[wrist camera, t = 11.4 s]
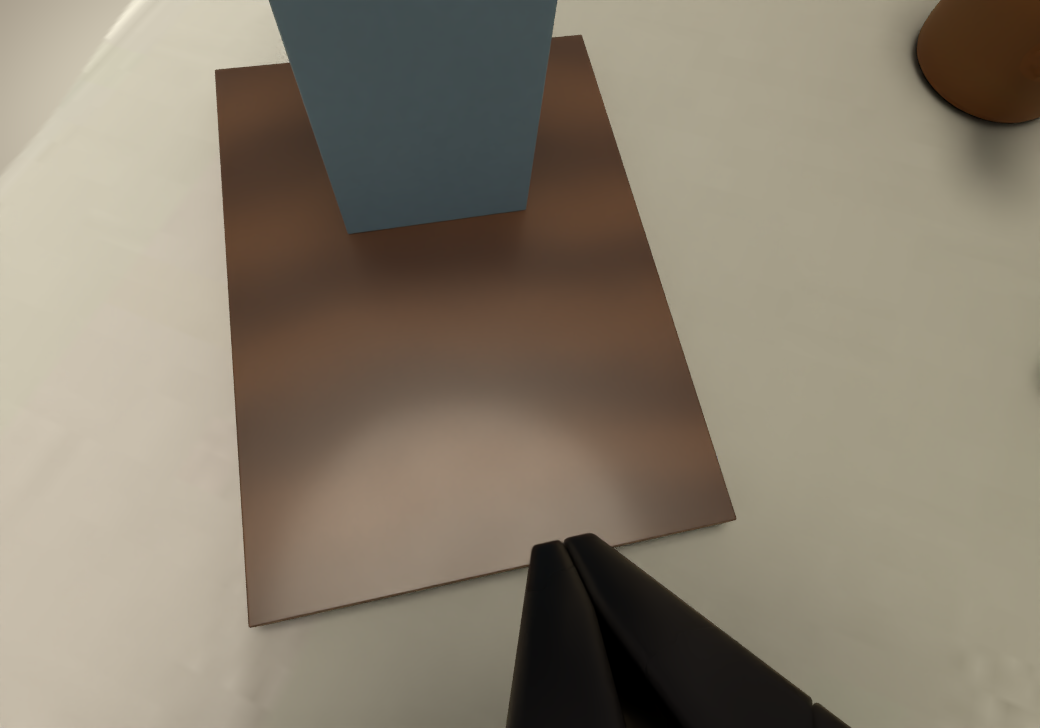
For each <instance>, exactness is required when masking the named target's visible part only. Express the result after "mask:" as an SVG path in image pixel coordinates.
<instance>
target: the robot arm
mask: <svg viewBox="0 0 1040 728" xmlns="http://www.w3.org/2000/svg"><path fill="white" fill-rule="evenodd" d="M506 728H851V727H850V726H848V725H847V724H846V723H844V722H843V721H842V720H840V719H839V718H838V717H836V716H835V715H834V714H832V713H831V712H830V711H828V710H827V709H826V708H824V707H823V706H822V705H820V704H819V703H814V704H812V699H811V697H809V696H808V695H807V694H805V693H804V692H803V691H802V690H800V689H799V688H798V687H796V686H795V685H794V684H792V683H791V682H790V681H788V680H787V679H786V678H784V677H783V676H782V675H780V674H779V673H778V672H776V671H775V670H774V669H772V668H771V667H770V666H768V665H767V664H766V663H765V662H763V661H762V660H761V659H759V658H758V657H757V656H755V655H754V654H753V653H751V652H750V651H749V650H747V649H746V648H745V647H743V646H742V645H741V644H739V643H738V642H737V641H735V640H734V639H733V638H731V637H730V636H729V635H728V634H726V633H725V632H724V631H722V630H721V629H720V628H718V627H717V626H716V625H714V624H713V623H712V622H710V621H709V620H708V619H706V618H705V617H704V616H702V615H701V614H700V613H698V612H697V611H696V610H694V609H693V608H692V607H691V606H689V605H688V604H687V603H685V602H684V601H683V600H681V599H680V598H679V597H677V596H676V595H675V594H673V593H672V592H671V591H669V590H668V589H667V588H665V587H664V586H663V585H661V584H660V583H659V582H657V581H656V580H655V579H654V578H652V577H651V576H650V575H648V574H647V573H646V572H644V571H643V570H642V569H640V568H639V567H638V566H636V565H635V564H634V563H632V562H631V561H630V560H628V559H627V558H626V557H624V556H623V555H622V554H620V553H619V552H618V551H617V550H615V549H614V548H613V547H611V546H610V545H609V544H607V543H606V542H605V541H603V540H602V539H601V538H599V537H598V536H597V535H595V534H593V533H586V534H581V535H576V536H572V537H568V538H566V539H565V540H564V541H563V542H562V541H560V540H553V541H549V542H544V543H540V544H536V545H534V546H533V547H532V549H531V555H530V562H529V569H528V576H527V583H526V590H525V597H524V604H523V611H522V618H521V625H520V632H519V639H518V646H517V653H516V660H515V667H514V674H513V681H512V688H511V695H510V702H509V709H508V715H507V722H506Z"/></svg>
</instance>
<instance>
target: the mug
mask: <svg viewBox="0 0 1040 728" xmlns="http://www.w3.org/2000/svg"><path fill="white" fill-rule="evenodd" d="M917 56H918V61H919V64H920V67H921V69H922V71H923V73H924V75H925V77H926V78H927V80H928V81H929V83H930V84H931V85H932V87H933V88H934V89H935V90H936V91H937V92H938V93H939V94H940V95H941V96H942V97H943V98H944V99H946V100H947V101H948V102H949V103H951V104H952V105H954V106H955V107H957V108H959V109H960V110H962V111H964V112H966V113H968V114H971V115H973V116H976V117H979V118H982V119H985V120H989V121H994V122H1001V123H1018V122H1024V121H1028V120H1032V119H1036V118H1038V117H1040V0H940V2H939V3H938V4H937V5H936V7H935V8H934V9H933V11H932V12H931V14H930V15H929V16H928V18H927V20H926V21H925V23H924V25H923V27H922V28H921V31H920V33H919V37H918V43H917Z"/></svg>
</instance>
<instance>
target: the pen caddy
mask: <svg viewBox="0 0 1040 728" xmlns="http://www.w3.org/2000/svg"><path fill="white" fill-rule="evenodd" d="M269 3H270V6H271V8H272V11H273V14H274V17H275V20H276V23H277V26H278V29H279V32H280V35H281V38H282V41H283V44H284V47H285V50H286V53H287V56H288V59H289V62H290V65H291V67H292V70H293V73H294V76H295V79H296V82H297V85H298V88H299V91H300V94H301V97H302V100H303V103H304V106H305V109H306V112H307V115H308V118H309V121H310V124H311V126H312V129H313V132H314V135H315V138H316V141H317V144H318V147H319V150H320V153H321V156H322V159H323V162H324V165H325V168H326V171H327V174H328V177H329V180H330V183H331V185H332V188H333V191H334V194H335V197H336V200H337V203H338V206H339V209H340V212H341V215H342V218H343V221H344V224H345V227H346V230H347V233H348V234H353V233H360V232H367V231H375V230H382V229H389V228H397V227H404V226H411V225H418V224H426V223H433V222H440V221H448V220H455V219H462V218H469V217H477V216H484V215H491V214H499V213H506V212H513V211H520V210H526V206H527V199H528V192H529V186H530V179H531V172H532V166H533V159H534V152H535V146H536V139H537V132H538V126H539V119H540V112H541V106H542V99H543V92H544V85H545V79H546V72H547V65H548V59H549V52H550V45H551V39H552V32H553V25H554V19H555V12H556V5H557V0H269Z"/></svg>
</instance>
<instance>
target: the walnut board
mask: <svg viewBox="0 0 1040 728" xmlns="http://www.w3.org/2000/svg"><path fill="white" fill-rule="evenodd" d="M215 80H216V97H217V113H218V130H219V146H220V163H221V179H222V196H223V212H224V229H225V245H226V262H227V278H228V295H229V311H230V327H231V344H232V360H233V377H234V393H235V410H236V426H237V443H238V459H239V476H240V492H241V509H242V525H243V541H244V558H245V574H246V591H247V607H248V624H249V627H250V628H251V627H257V626H263V625H267V624H272V623H276V622H281V621H285V620H290V619H294V618H299V617H303V616H308V615H312V614H317V613H321V612H326V611H330V610H335V609H339V608H344V607H348V606H353V605H357V604H362V603H366V602H371V601H375V600H380V599H384V598H389V597H393V596H398V595H402V594H407V593H411V592H416V591H420V590H425V589H429V588H434V587H438V586H443V585H447V584H452V583H456V582H461V581H465V580H470V579H474V578H479V577H483V576H488V575H492V574H497V573H501V572H506V571H510V570H515V569H519V568H524V567H528V566H529V562H530V555H531V549H532V547H533V546H534V545H536V544H540V543H544V542H549V541H553V540H560V541H562V542H563V541H564V540H565V539H566V538H568V537H572V536H576V535H581V534H586V533H593V534H595V535H597V536H598V537H599V538H601V539H602V540H603V541H605V542H606V543H607V544H609V545H610V546H611V547H613V548H614V547H618V546H623V545H627V544H632V543H636V542H641V541H645V540H650V539H654V538H659V537H663V536H668V535H672V534H677V533H681V532H686V531H690V530H695V529H700V528H704V527H709V526H713V525H718V524H722V523H726V522H730V521H733V520H736V516H735V513H734V509H733V506H732V503H731V500H730V497H729V494H728V491H727V488H726V484H725V481H724V478H723V475H722V472H721V469H720V466H719V463H718V459H717V456H716V453H715V450H714V447H713V444H712V441H711V438H710V434H709V431H708V428H707V425H706V422H705V419H704V416H703V413H702V409H701V406H700V403H699V400H698V397H697V394H696V391H695V388H694V384H693V381H692V378H691V375H690V372H689V369H688V366H687V363H686V359H685V356H684V353H683V350H682V347H681V344H680V341H679V338H678V334H677V331H676V328H675V325H674V322H673V319H672V316H671V313H670V309H669V306H668V303H667V300H666V297H665V294H664V291H663V288H662V284H661V281H660V278H659V275H658V272H657V269H656V266H655V263H654V259H653V256H652V253H651V250H650V247H649V244H648V241H647V238H646V234H645V231H644V228H643V225H642V222H641V219H640V216H639V213H638V210H637V206H636V203H635V200H634V197H633V194H632V191H631V188H630V185H629V181H628V178H627V175H626V172H625V169H624V166H623V163H622V160H621V156H620V153H619V150H618V147H617V144H616V141H615V138H614V135H613V131H612V128H611V125H610V122H609V119H608V116H607V113H606V110H605V106H604V103H603V100H602V97H601V94H600V91H599V88H598V85H597V81H596V78H595V75H594V72H593V69H592V66H591V63H590V60H589V56H588V53H587V50H586V47H585V44H584V41H583V38H582V35H574V36H564V37H553V38H552V39H551V45H550V52H549V59H548V65H547V72H546V79H545V85H544V92H543V99H542V106H541V112H540V119H539V126H538V132H537V139H536V146H535V152H534V159H533V166H532V172H531V179H530V186H529V192H528V199H527V206H526V210H520V211H513V212H506V213H499V214H491V215H484V216H477V217H469V218H462V219H455V220H448V221H440V222H433V223H426V224H418V225H411V226H404V227H397V228H389V229H382V230H375V231H367V232H360V233H353V234H348V233H347V230H346V227H345V224H344V221H343V218H342V215H341V212H340V209H339V206H338V203H337V200H336V197H335V194H334V191H333V188H332V185H331V183H330V180H329V177H328V174H327V171H326V168H325V165H324V162H323V159H322V156H321V153H320V150H319V147H318V144H317V141H316V138H315V135H314V132H313V129H312V126H311V124H310V121H309V118H308V115H307V112H306V109H305V106H304V103H303V100H302V97H301V94H300V91H299V88H298V85H297V82H296V79H295V76H294V73H293V70H292V67H291V65H290V63H281V64H271V65H260V66H250V67H239V68H229V69H219V70H215Z"/></svg>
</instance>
